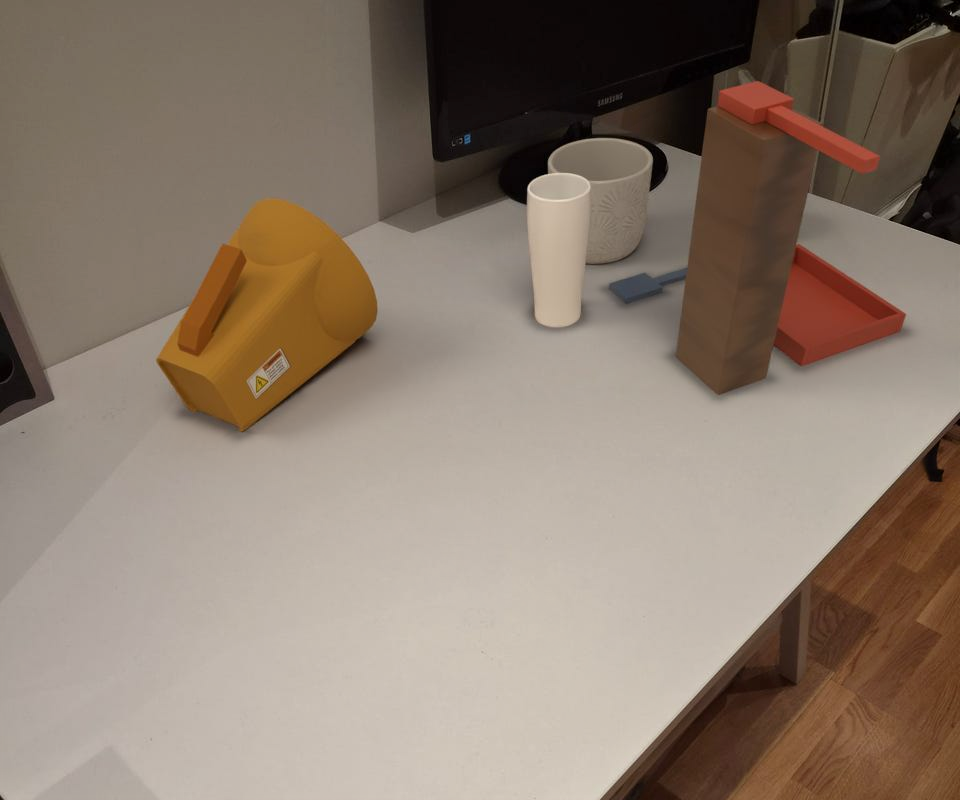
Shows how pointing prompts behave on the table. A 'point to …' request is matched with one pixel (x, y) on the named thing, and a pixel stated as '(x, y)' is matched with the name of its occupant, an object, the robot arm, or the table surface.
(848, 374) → the table surface
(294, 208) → the flared yellow plastic housing
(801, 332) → the red tray
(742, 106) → the red spoon
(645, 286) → the blue spoon
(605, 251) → the planter
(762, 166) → the stand
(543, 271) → the drinking glass
